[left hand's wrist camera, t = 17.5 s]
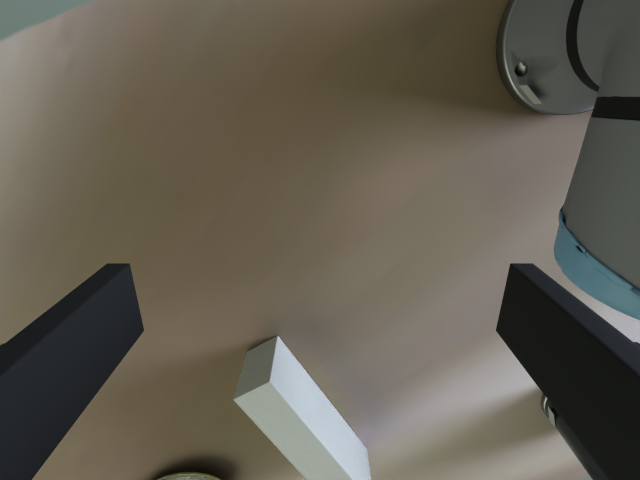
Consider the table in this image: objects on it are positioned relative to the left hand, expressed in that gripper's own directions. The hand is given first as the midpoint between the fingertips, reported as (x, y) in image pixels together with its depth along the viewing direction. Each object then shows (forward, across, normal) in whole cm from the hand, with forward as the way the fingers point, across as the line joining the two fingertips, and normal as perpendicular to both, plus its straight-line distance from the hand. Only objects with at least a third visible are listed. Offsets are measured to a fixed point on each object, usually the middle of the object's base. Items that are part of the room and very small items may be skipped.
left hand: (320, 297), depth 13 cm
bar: (+31, -1, -37) cm, 49 cm away
